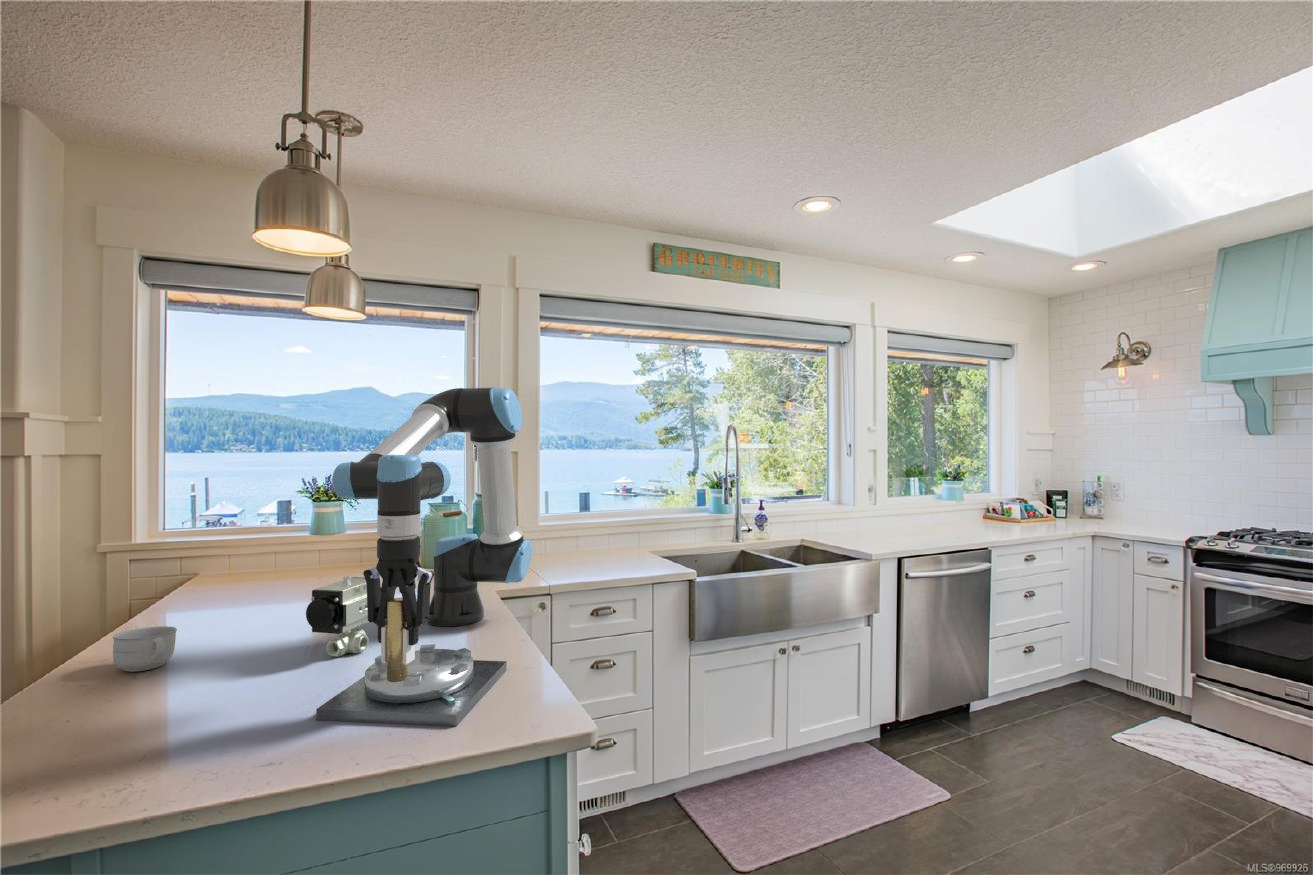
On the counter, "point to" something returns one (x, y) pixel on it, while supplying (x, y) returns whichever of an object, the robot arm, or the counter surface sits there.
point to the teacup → (143, 647)
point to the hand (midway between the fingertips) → (398, 660)
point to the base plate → (430, 712)
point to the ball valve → (341, 615)
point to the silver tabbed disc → (415, 667)
